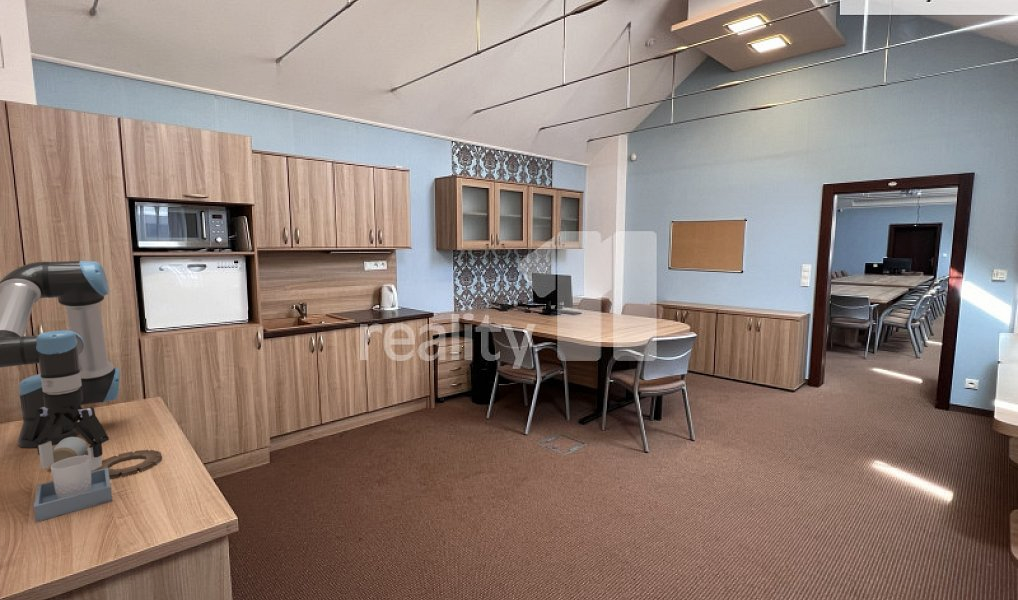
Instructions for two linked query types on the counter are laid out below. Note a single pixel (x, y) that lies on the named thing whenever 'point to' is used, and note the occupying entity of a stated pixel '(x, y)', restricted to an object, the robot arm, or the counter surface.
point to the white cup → (71, 476)
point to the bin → (71, 497)
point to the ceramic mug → (69, 448)
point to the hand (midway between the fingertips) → (71, 467)
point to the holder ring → (151, 460)
